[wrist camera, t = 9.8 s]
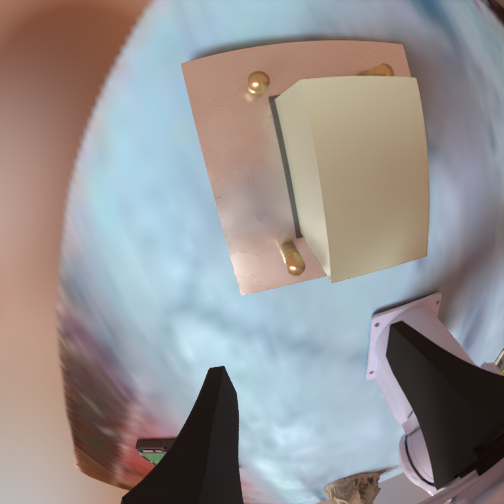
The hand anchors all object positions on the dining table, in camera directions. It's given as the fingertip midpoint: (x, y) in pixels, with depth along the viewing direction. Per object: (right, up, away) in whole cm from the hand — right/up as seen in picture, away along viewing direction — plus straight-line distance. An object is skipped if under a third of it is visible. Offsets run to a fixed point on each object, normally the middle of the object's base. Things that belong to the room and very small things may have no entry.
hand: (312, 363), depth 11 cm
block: (+2, +10, +4) cm, 11 cm away
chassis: (+2, +11, +6) cm, 12 cm away
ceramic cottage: (+24, -56, +38) cm, 71 cm away
